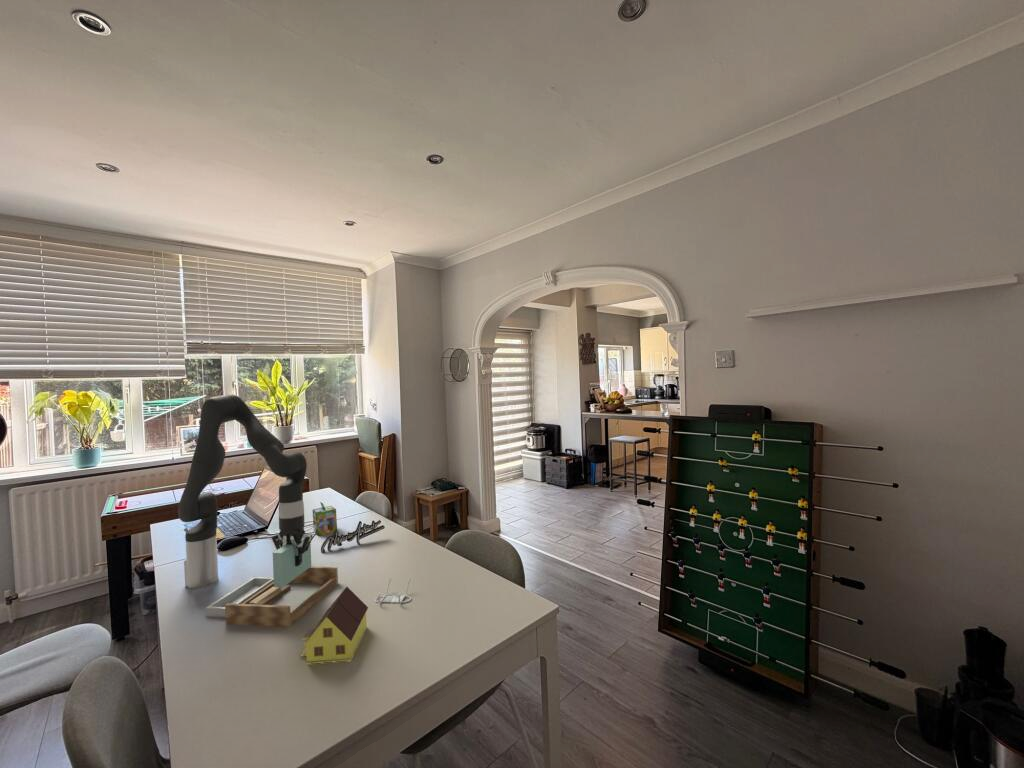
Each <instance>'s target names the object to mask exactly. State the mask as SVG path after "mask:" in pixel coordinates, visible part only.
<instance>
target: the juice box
mask: <svg viewBox="0 0 1024 768" xmlns="http://www.w3.org/2000/svg"><path fill="white" fill-rule="evenodd" d="M320 505H321V507H317V508H314V509H313V508H312V522H313V523H312V525H313V533H314V532H315V533H316V534H315V533H314V534H315V535H316V536H317V537H320V536H325V535H329V534H333V533H334V532H335V531H336V530H337V531H338V523H337V522H338V521H337V520H338V519H337V518H338V517H337V508H335V507H334V506H332V505H327V506H325V505H324V503H323V502H320Z"/></svg>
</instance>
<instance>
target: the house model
mask: <svg viewBox="0 0 1024 768" xmlns="http://www.w3.org/2000/svg"><path fill="white" fill-rule="evenodd" d="M368 610H369V607H368V606H367V605H366V604H365V603H364V602H363V601H362V600H361V598H359V596H357V595H356V594H355V593H354V592H353V590H351V589H350V588H349V586H346V587H345V588H344V589H343V591H342V592H341V593H340V594H339V595H338V597H336V599H335V600H334V601H333V603H332V604H331V605H330V606H329V608H328V609H327V610H326V611H325V613H324V614H323V616H322V617H321V619H320V620H319V622H318V624H317V625H316V626H315V628H313V629H310V630H308V631H307V632H306V633H305V634H304V635H303V637H302V638H301V641H303V649H300V650H299V657H300V658H302V657H305V656H307V657H306V665H312V664H311V663H321V664H324V663H323V662H333V661H347V662H351V661H352V660H353V657H354V655H355V653H356V651H357V648H358V646H359V645H360V642H361V641H362V638H363V637H364V634H365V632H366V630H367V623H368V622H367V612H368ZM302 653H303V654H302ZM301 654H302V655H301ZM301 656H302V657H301Z"/></svg>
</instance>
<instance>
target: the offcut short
mask: <svg viewBox="0 0 1024 768" xmlns="http://www.w3.org/2000/svg"><path fill="white" fill-rule="evenodd" d="M280 592H281V587H272V588H271V589H269V590H268V591H266V592H264V593H263V594H261V595H260V596H258V597H257V598H255V599H254V600H252V601H251V602H249V604H256V605H262V604H264V603H265V602H267V601H268V600H269V599H271V598H272V597H274V596H275V595H277V594H278V593H280Z"/></svg>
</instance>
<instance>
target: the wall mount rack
mask: <svg viewBox="0 0 1024 768" xmlns="http://www.w3.org/2000/svg"><path fill="white" fill-rule="evenodd" d="M391 578H392V577H389V578H388V583H387V585H386V586H387V587H386V591H385V595H382V596H381V594H382V593H381V592H379V593H378V597H376V598H375V599H374V601H375V603H378V604H399V605H401V604H405V603H409V602H410V601H411V600H412V597H411V596H409V595H408V596H407V594H408V589H409V584H410V581H411V577H408V579H407V584H406V588H405V594H404V595H402V592H401V591H400V592H399V593H398V595H388V593H389V592H388V591H389V586H390V582H391V580H392V579H391ZM405 598H407V599H408V600H405V601H403V600H404V599H405Z"/></svg>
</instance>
